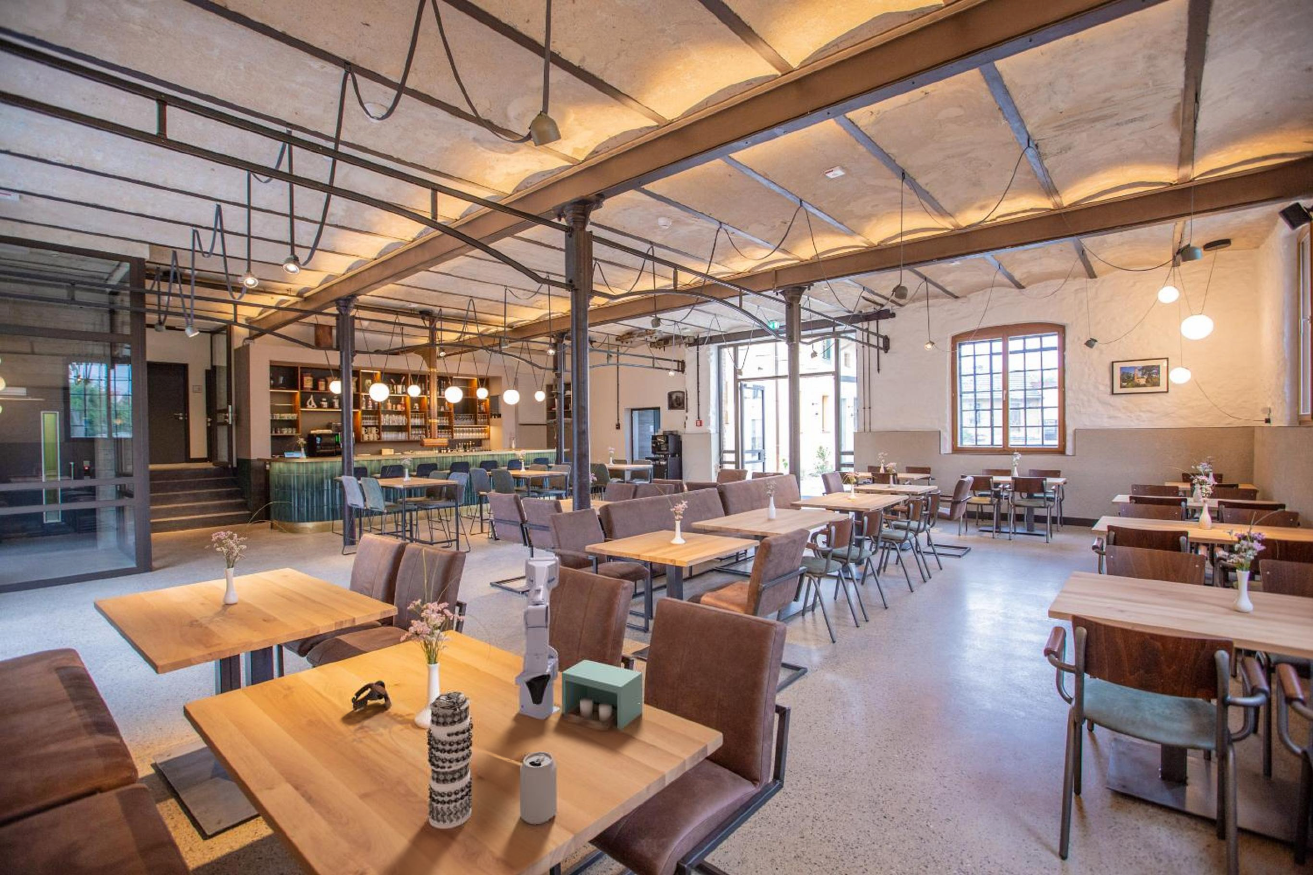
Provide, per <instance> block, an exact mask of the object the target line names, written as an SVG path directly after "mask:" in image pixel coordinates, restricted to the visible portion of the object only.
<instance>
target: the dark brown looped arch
mask: <svg viewBox="0 0 1313 875" xmlns="http://www.w3.org/2000/svg"><path fill="white" fill-rule="evenodd" d="M369 689H370V690H369ZM367 691H368V692H367ZM365 692H367V693H366V694H365V695H363V694H364V693H365ZM361 695H363V697H361ZM360 697H361V698H360ZM382 699H384V706H385V707H386V708H385V709H386V711H388V710H390V708H391V706H392V702H391V699H390V696H389V694H388V692H387V690H386V684H385V682H384V680H381V679H380V680H377V681H375V682H368V683H366V684H365V685H363V686H362V687H361V688H359V689H358V690H357V691H356V692H355V693H354V696H353V697H352V698H351V703H352V709H353V710H355V711H356V710H360V709H362V708H365V709H367V708H369V707H368V706H369V705H368V704H369V701H370V702H373V701H380V700H382Z"/></svg>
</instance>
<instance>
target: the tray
mask: <svg viewBox="0 0 1313 875" xmlns="http://www.w3.org/2000/svg"><path fill="white" fill-rule="evenodd" d="M599 705H600V704H597V703H595V702H593V715H592V716H591V717H586V718H585V717H581V716H580V704H579V705H577V706H576V707H574V708H572V709H571V710H569V711H568V712H566V713H564V721H565V722H568V723H571V724H576V725H579V726H580V727H585V728H588V729H590V730H591V729H592V730H596V731H598V732H601V733H605V732H606V731H607V730H609V729H610V728H611V727H612V726H614V725H615V724H616V723H617V709H616V708H613V707H612V717H611V718H609V719H608V720H607V721H605V722H604V723H601V722H599Z"/></svg>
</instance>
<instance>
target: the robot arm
mask: <svg viewBox="0 0 1313 875" xmlns="http://www.w3.org/2000/svg"><path fill="white" fill-rule="evenodd" d="M524 572H525V573H524V576H525V582H526V585H527V587H528V588H529V591H528V594H527V603H526V607H524V609H523V627H524V636H525V652H524V654H523V662H522V670H521V672H520V673H519V674H518V675H516V676H515V677H514V685H515V686H519V691H518V694H519V695H518V696H519V697H518V698H519V699H518V702H519V703H518V704H519V706H518V707H519V710H517V713H518V714H522V715H526V716H529V717H532V718H535V719H537V720H538V719H539V720H545V719H546V718H548V717H549V716H551V715H553V714H554V713H556V712H557V711H559V710H561V707H558V706H556V705H555V703H554V697H555V696H554V695H555V694H554V689H555V686H554V685H555V684H554V682H555V681H557V679H558V678H559V653H558V652H557V650H556V649H555V648H553V647H552V646H551V645H549V644H550V642H549V641H550V623H551V610H550V609H551V608H550V600H551V599H550V597H551V593H552V589H554V588H556V587H557V586H558V583H559V575H560V558H559V557H558V556H546V557H544V556H543V557H541V556H540V557H530V556H529V557H527V558H526V559H525V564H524ZM554 705H555V706H554Z"/></svg>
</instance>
